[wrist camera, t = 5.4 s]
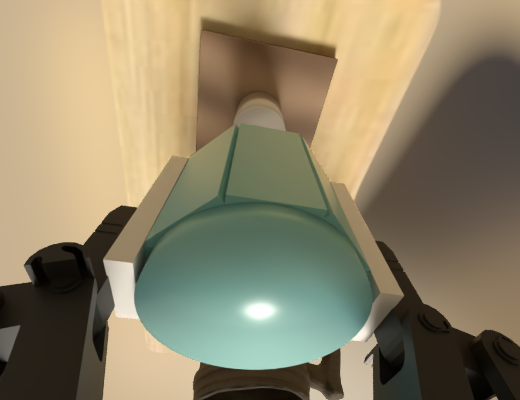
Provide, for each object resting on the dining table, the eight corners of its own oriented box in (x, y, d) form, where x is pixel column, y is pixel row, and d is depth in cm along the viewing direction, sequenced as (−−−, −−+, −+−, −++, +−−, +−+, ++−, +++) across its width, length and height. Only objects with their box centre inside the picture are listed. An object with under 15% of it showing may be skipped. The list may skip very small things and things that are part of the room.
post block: (203, 29, 22) (183, 32, 16) (335, 58, 23) (359, 69, 18) (197, 155, 29) (182, 188, 23) (300, 171, 30) (309, 207, 24)
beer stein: (208, 259, 39) (186, 434, 23) (215, 203, 33) (193, 387, 17) (304, 268, 41) (345, 429, 25) (327, 217, 35) (401, 387, 19)
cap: (190, 113, 11) (117, 203, 5) (343, 141, 12) (423, 247, 6) (186, 233, 15) (141, 361, 9) (302, 249, 16) (327, 377, 10)
